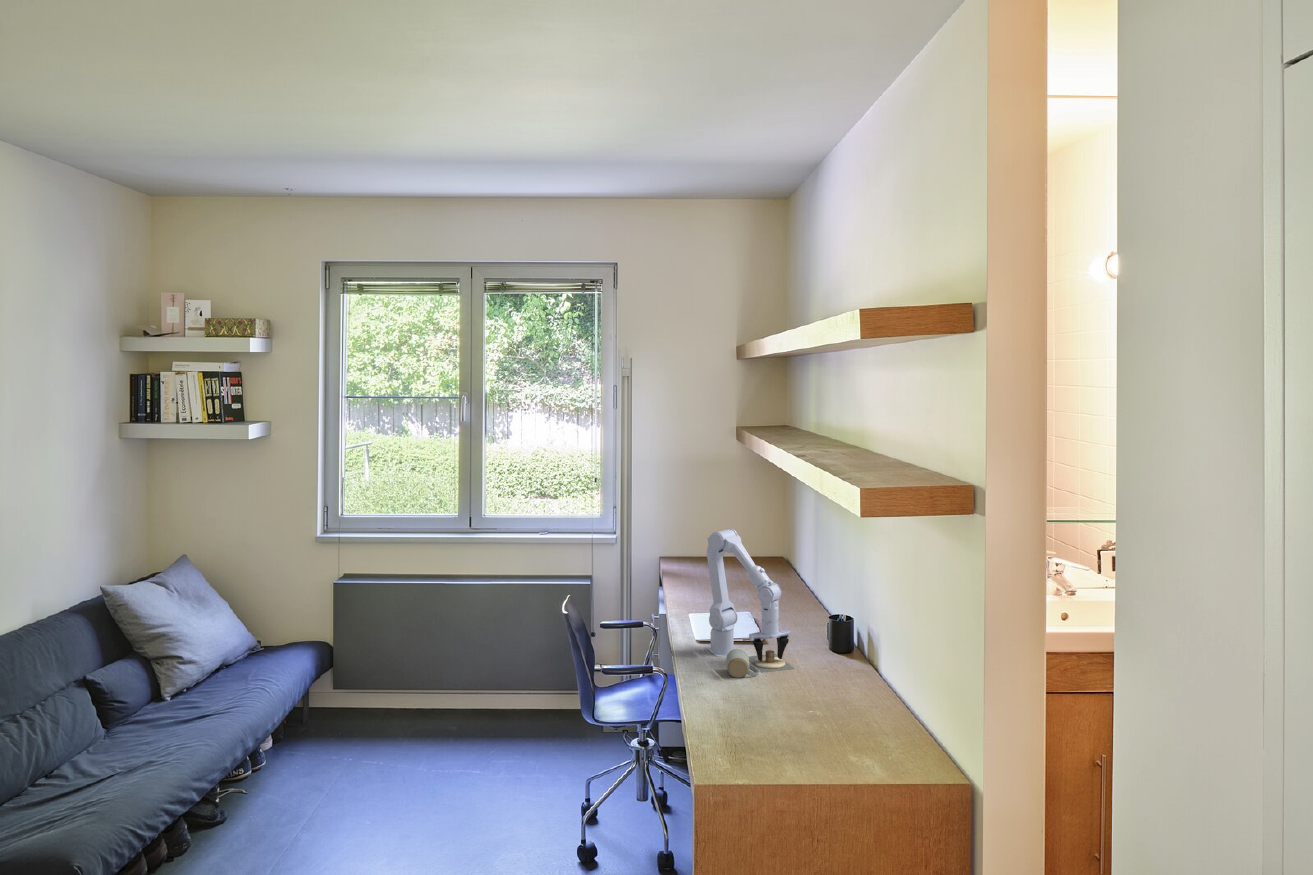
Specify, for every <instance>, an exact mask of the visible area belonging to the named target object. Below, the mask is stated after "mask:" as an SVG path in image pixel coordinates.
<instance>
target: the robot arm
mask: <svg viewBox="0 0 1313 875" xmlns="http://www.w3.org/2000/svg"><path fill="white" fill-rule="evenodd" d="M726 553H727V554H732V555H734V557H735V558H736V559H737V560H738V561H739V562H740V564H741V565H742V566H743V568H744V569H745V570H746V571H747V575H746V577H747V578H748V579H749V581H750V582H751V583H752V586H754V587H755V589H756V591H757V592H758V593H757V596H758V600H759V601H760V606H761V631H757V632H752V633H749V634H748V639H749V641H751V643H752V645H753V646H754V648H755V649H754V650H755V651H756V656H758V660H759V661H762V655H763V650H764V642H763V641H762V640H769V639H776V644H777V652H776V653H777V655H778V658H779V659H783V655H784V652H785V649H786V648H787V645H788V644H789V641H790V640H789V638H791V637H792V635H791V634H792V631H790V630H789V629H786V630H782V629H781V630H780V629H779V618H780V617H779V614H780V613H779V612H780V610H779V608H780V607H779V605H780V603H779V602H780V601H779V600H780V599H781V598H782V595H783V591H782V589H781V586H780V585H779V584H778V583H776V582H774V581H773V580H772V579H770V578H769V576H768V575H767V573H766V570H765V569H764V568H763V567H761V566H760V565H756V564H755V562H754V560H753V559H752V557H751V556H750V554H749V553H748V551H747V550H746V548H745V546H744V545H743V543H742V537H741V536H739V534H738V533H737V531H736V530H735V529H734V528H727V529H724V530H720V531H714V532H712V533H711V534H710V535H709V536H708V537H707V549H706V559H707V566H708V571H709V572H708V573H709V580H710V586H711V587H710V588H711V593H712V600H713V603H712V605H711V606H710V607H709V617H708V622H709V626H710V627H711V630H710V647H708V648H707V650H709V651H710V652H711V654H713V655H714V656H715V657H718V658H719V657H720V658H721V657H727V655H728V653H729V652H730V651H731V650H733V649H735V648H734V647H735V646H734V637H735V636H734V634H735V633H734V628H735V624H736V623H737V622H738V618H739V617H738V613H737V610H736V609H735V606H734V605H735V604H734V603H733V602H732V601H731V600H730V598H729V592H728V585H727V578H726V572H725V571H726V570H725V564H724V557H723V556H724V555H725V554H726Z"/></svg>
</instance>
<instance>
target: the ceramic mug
mask: <svg viewBox="0 0 1313 875" xmlns="http://www.w3.org/2000/svg"><path fill="white" fill-rule="evenodd" d="M748 656H749V655H748V653H747V652H746V651H745V650H743V649H741V648H734V649H733V650H731V651H730V652H729V653H728V655H727V656H725V657H726V663H725V664H726V669H727V672H728V674H729V675H730V676H731V677H732V678H735V679H743V678H744V677H746V676H747V675H748V676H750V677H753V678H755V677H758V675H759V673H760V671H759V670H758V669H757V668H756V667H754V666H753V665H752V664H751V663H750V662H749V657H748Z"/></svg>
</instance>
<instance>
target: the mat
mask: <svg viewBox="0 0 1313 875" xmlns="http://www.w3.org/2000/svg"><path fill="white" fill-rule="evenodd" d="M748 657H749V664H751V665H753V666H754V667H756V668H757V669H758V670H759V673H770V672H779V671H790V670H795V669H796V668H794V666H792V665H791V664H789V663H788V662H787V661H786V660H785V666H784V667H782V668H778V669H765V668H761V667H758V666H756V665H755V659H757V658H758V656H757V655H751V656H749V655H748ZM762 657H766V654H762ZM774 657H778V655H777V654H776V653H774Z"/></svg>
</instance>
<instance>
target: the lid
mask: <svg viewBox="0 0 1313 875" xmlns="http://www.w3.org/2000/svg"><path fill="white" fill-rule="evenodd" d="M774 654H775V651H774V650H771V649H768V650H765V655H766V657H762V661H759V660H758V658H757V659H755V665H756V666H758V667H761V668H765V669H778V668H782V667H784V666H785V661H786V660H785V659H783V658H782V659H779V658H778V657H774Z"/></svg>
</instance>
